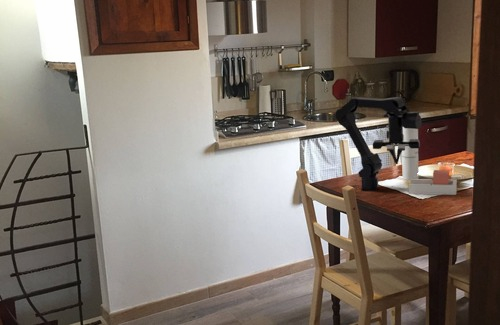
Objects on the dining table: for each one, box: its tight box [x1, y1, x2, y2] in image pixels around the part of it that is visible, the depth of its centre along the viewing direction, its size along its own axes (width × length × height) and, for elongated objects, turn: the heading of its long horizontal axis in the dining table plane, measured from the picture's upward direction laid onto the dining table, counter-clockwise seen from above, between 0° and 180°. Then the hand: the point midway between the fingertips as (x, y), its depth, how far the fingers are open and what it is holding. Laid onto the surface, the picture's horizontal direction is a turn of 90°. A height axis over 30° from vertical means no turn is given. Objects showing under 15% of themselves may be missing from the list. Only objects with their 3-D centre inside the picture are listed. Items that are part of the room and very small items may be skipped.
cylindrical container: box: [401, 127, 420, 181], centre depth 240 cm, size 7×7×25 cm
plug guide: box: [408, 178, 458, 196], centre depth 221 cm, size 19×9×4 cm, turn 68°
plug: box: [432, 169, 450, 185], centre depth 219 cm, size 6×6×8 cm
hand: (396, 163), depth 221 cm, fingers closed
